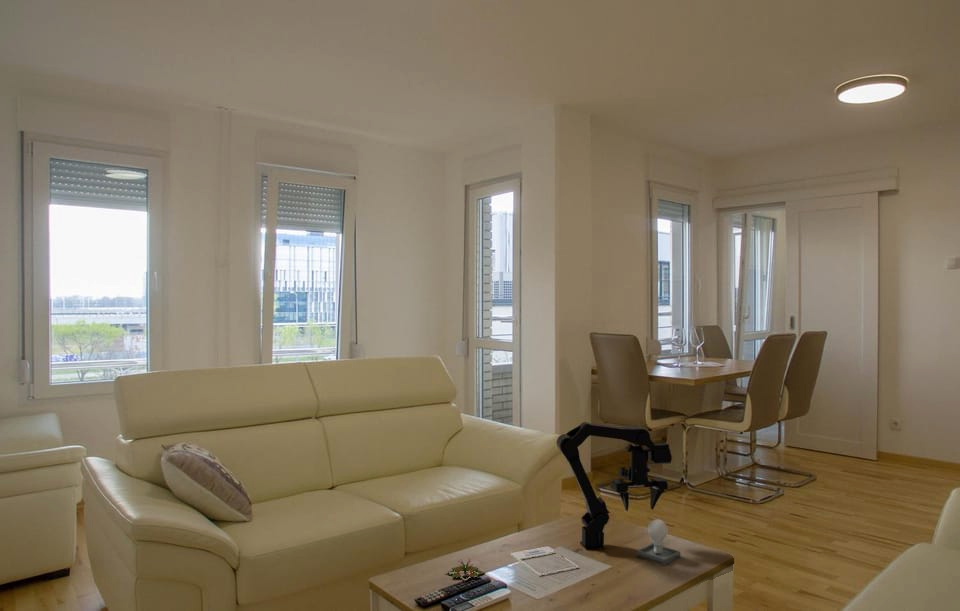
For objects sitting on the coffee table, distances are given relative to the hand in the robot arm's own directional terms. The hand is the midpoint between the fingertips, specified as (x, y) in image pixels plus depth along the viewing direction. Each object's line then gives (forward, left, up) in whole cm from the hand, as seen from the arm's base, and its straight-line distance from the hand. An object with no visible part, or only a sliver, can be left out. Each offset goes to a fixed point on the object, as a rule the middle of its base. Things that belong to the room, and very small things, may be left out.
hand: (639, 509), depth 209 cm
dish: (+2, -10, -12) cm, 16 cm away
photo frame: (-36, -7, -13) cm, 39 cm away
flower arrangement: (-62, -12, -13) cm, 65 cm away
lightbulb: (+2, -9, -12) cm, 15 cm away
